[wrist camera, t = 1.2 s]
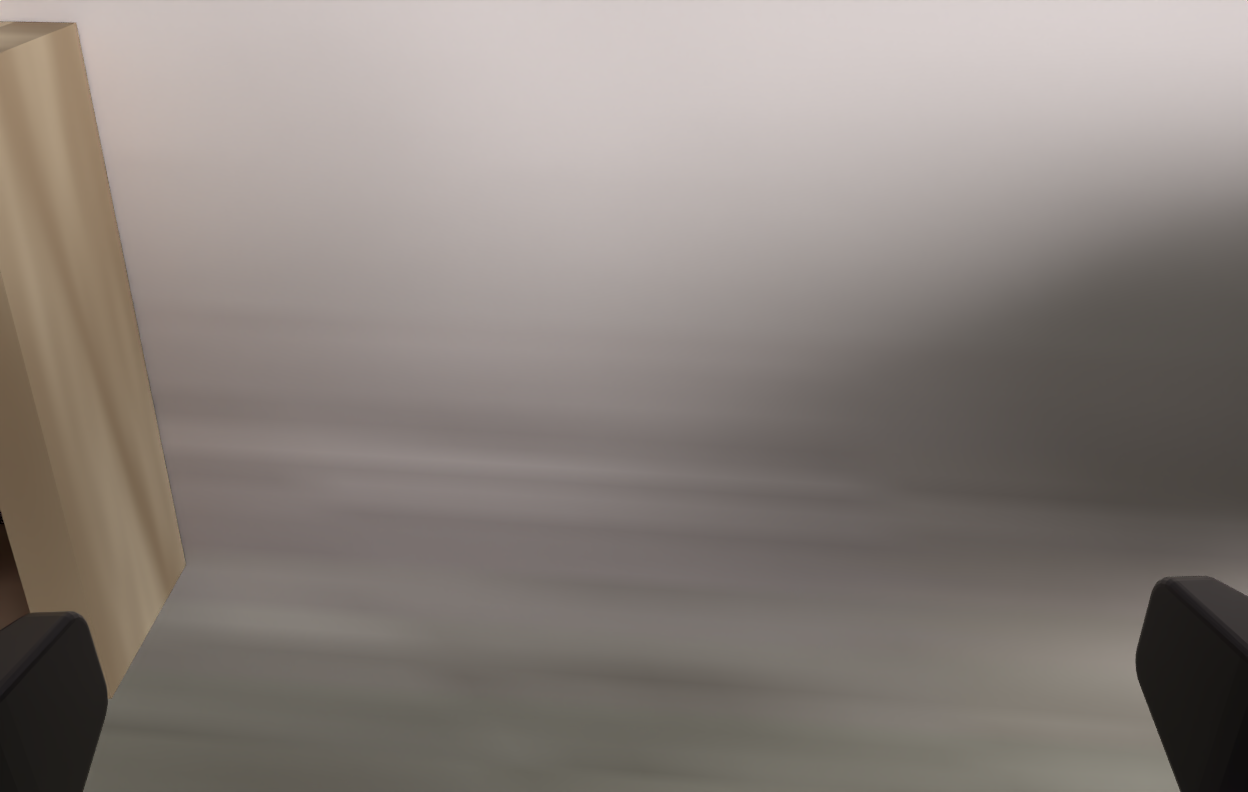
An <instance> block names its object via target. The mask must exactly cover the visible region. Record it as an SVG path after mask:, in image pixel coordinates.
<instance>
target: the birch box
mask: <svg viewBox="0 0 1248 792" xmlns="http://www.w3.org/2000/svg"><path fill="white" fill-rule="evenodd" d="M0 510H1V514H2V517H3V521H4V524H0V630H1V629H3V628H4V627H6V626H7V625H9V624H10V623H12V622H14V621H15V620H17V619H18V618H20V617H22V616H24V615H25V614H29V613H34V612H57V611H74V612H76V613H79V614H80V615H82V616H83V617H84V619H85V620H86V622H87V624H88V626H89V629H90V632H91V636H92V639H93V642H94V645H95V649H96V652H97V655H98V658H99V662H100V665H101V668H102V672H103V675H104V678H105V681H106V686H107V692H108V699H112V697H113V695H114V693H115V691H116V690H117V688H118V686H119V684H120V682H121V681H122V679H123V677H124V675H125V673H126V672H127V670H128V668H129V666H130V664H131V663H132V661H133V659H134V657H135V656H136V654H137V652H138V650H139V648H140V647H141V645H142V643H143V641H144V639H145V638H146V636H147V634H148V632H149V630H150V629H151V627H152V625H153V623H154V621H155V620H156V618H157V616H158V614H159V612H160V611H161V609H162V607H163V605H164V603H165V602H166V600H167V598H168V596H169V594H170V593H171V591H172V589H173V587H174V585H175V584H176V582H177V580H178V578H179V576H180V575H181V573H182V571H183V569H184V567H185V566H186V563H185V558H184V553H183V548H182V543H181V538H180V533H179V528H178V523H177V518H176V513H175V508H174V504H173V499H172V494H171V489H170V484H169V479H168V474H167V469H166V464H165V459H164V454H163V449H162V444H161V439H160V435H159V430H158V425H157V420H156V415H155V410H154V405H153V400H152V395H151V390H150V385H149V380H148V375H147V370H146V365H145V361H144V356H143V351H142V346H141V341H140V336H139V331H138V326H137V321H136V316H135V311H134V306H133V301H132V296H131V292H130V287H129V282H128V277H127V272H126V267H125V262H124V257H123V252H122V247H121V242H120V237H119V232H118V227H117V222H116V218H115V213H114V208H113V203H112V198H111V193H110V188H109V183H108V178H107V173H106V168H105V163H104V158H103V153H102V149H101V144H100V139H99V134H98V129H97V124H96V119H95V114H94V109H93V104H92V99H91V94H90V89H89V84H88V79H87V75H86V70H85V65H84V60H83V55H82V50H81V45H80V40H79V35H78V30H77V25H76V23H54V22H0Z"/></svg>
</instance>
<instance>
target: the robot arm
mask: <svg viewBox="0 0 1248 792" xmlns="http://www.w3.org/2000/svg"><path fill="white" fill-rule="evenodd" d="M1136 672H1137V677H1138V680H1139V683H1140V686H1141V689H1142V692H1143V694H1144V697H1145V699H1146V702H1147V705H1148V707H1149V710H1150V713H1151V715H1152V718H1153V721H1154V723H1155V726H1156V728H1157V731H1158V734H1159V736H1160V739H1161V742H1162V744H1163V747H1164V750H1165V752H1166V755H1167V757H1168V760H1169V763H1170V765H1171V768H1172V771H1173V773H1174V776H1175V779H1176V781H1177V784H1178V786H1179V789H1180V792H1248V596H1246V595H1244V594H1243V593H1241V592H1239V591H1237V590H1235V589H1233V588H1231V587H1230V586H1228V585H1226V584H1224V583H1222V582H1220V581H1218V580H1217V579H1214V578H1212V577H1208V576H1182V577H1165V578H1163V579H1161V580H1159V581H1158V582H1157V583H1156V585H1155V586H1154V588H1153V590H1152V593H1151V596H1150V600H1149V604H1148V608H1147V611H1146V615H1145V619H1144V623H1143V627H1142V631H1141V635H1140V638H1139V642H1138V646H1137V651H1136ZM107 705H108V692H107V686H106V681H105V678H104V675H103V672H102V668H101V665H100V662H99V658H98V655H97V652H96V649H95V645H94V642H93V639H92V636H91V632H90V629H89V626H88V624H87V622H86V620H85V619H84V617H83V616H82V615H80V614H79V613H76V612H74V611H57V612H34V613H29V614H25V615H24V616H22V617H20V618H18V619H17V620H15V621H14V622H12V623H10V624H9V625H7V626H6V627H4V628H3V629H1V630H0V792H83V790H84V786H85V783H86V780H87V776H88V773H89V770H90V766H91V763H92V760H93V756H94V753H95V750H96V746H97V743H98V740H99V736H100V733H101V730H102V726H103V723H104V720H105V716H106V712H107Z"/></svg>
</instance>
